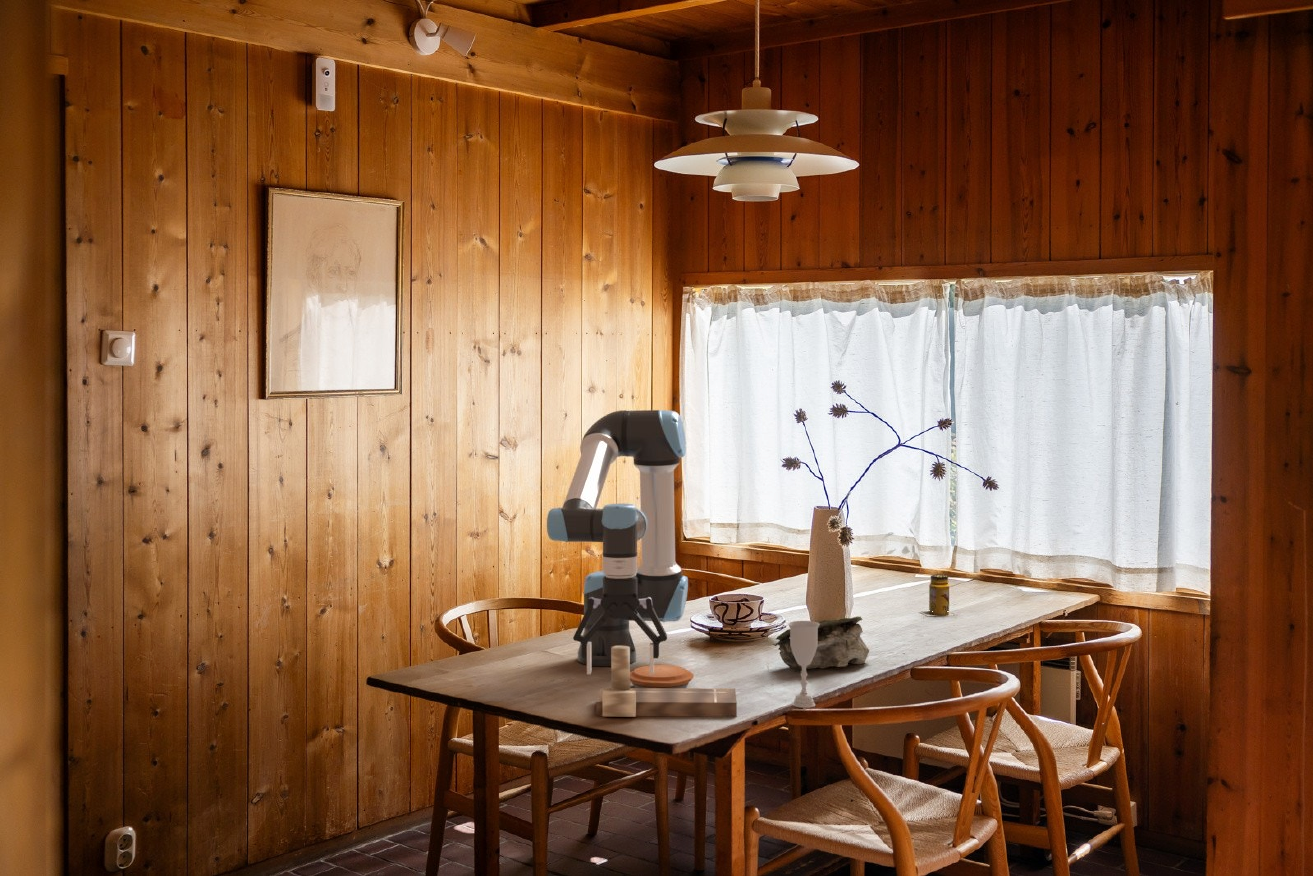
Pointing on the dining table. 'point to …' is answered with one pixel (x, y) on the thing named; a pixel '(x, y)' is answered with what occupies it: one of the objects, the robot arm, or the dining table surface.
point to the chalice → (803, 654)
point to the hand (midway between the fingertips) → (620, 673)
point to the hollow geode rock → (830, 645)
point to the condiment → (938, 596)
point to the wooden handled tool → (619, 686)
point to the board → (680, 702)
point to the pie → (661, 677)
